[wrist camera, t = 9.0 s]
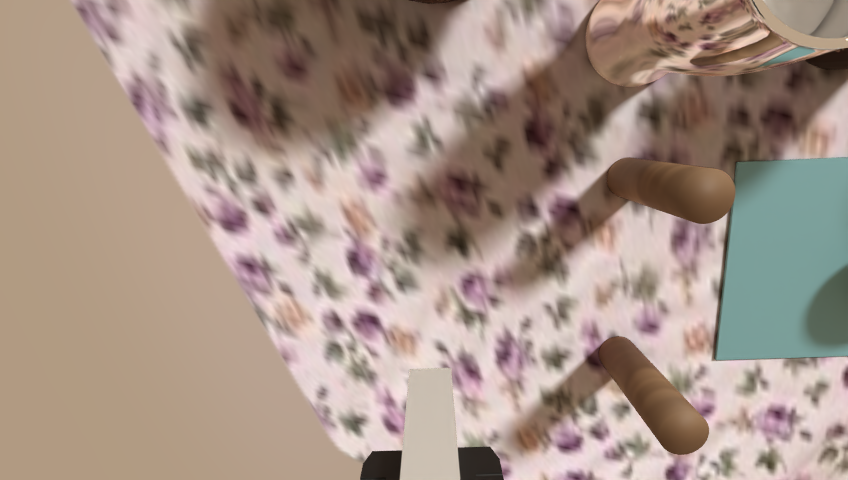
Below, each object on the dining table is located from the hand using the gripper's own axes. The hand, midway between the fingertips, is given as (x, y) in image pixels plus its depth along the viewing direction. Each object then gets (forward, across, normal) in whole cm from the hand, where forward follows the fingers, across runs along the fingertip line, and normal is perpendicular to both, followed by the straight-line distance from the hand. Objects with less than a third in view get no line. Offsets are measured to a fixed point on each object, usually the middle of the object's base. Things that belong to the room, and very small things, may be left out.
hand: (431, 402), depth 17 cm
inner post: (+16, +13, +6) cm, 21 cm away
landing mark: (+16, +27, 0) cm, 31 cm away
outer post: (+15, +13, -7) cm, 21 cm away
